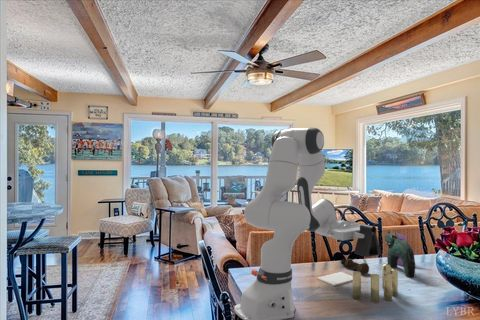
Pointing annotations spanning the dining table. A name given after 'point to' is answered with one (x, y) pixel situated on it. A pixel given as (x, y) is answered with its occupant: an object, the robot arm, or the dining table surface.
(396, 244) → the green animal figurine
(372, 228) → the phone stand
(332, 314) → the dining table surface
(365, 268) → the bolt
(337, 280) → the mat
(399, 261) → the toy chair
